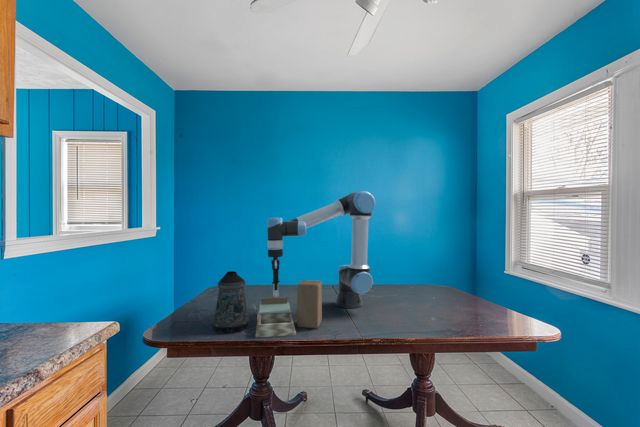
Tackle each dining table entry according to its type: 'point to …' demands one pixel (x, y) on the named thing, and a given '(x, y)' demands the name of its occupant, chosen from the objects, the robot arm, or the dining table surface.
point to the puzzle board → (275, 325)
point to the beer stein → (231, 305)
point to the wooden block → (309, 304)
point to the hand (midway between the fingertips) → (275, 296)
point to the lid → (274, 305)
